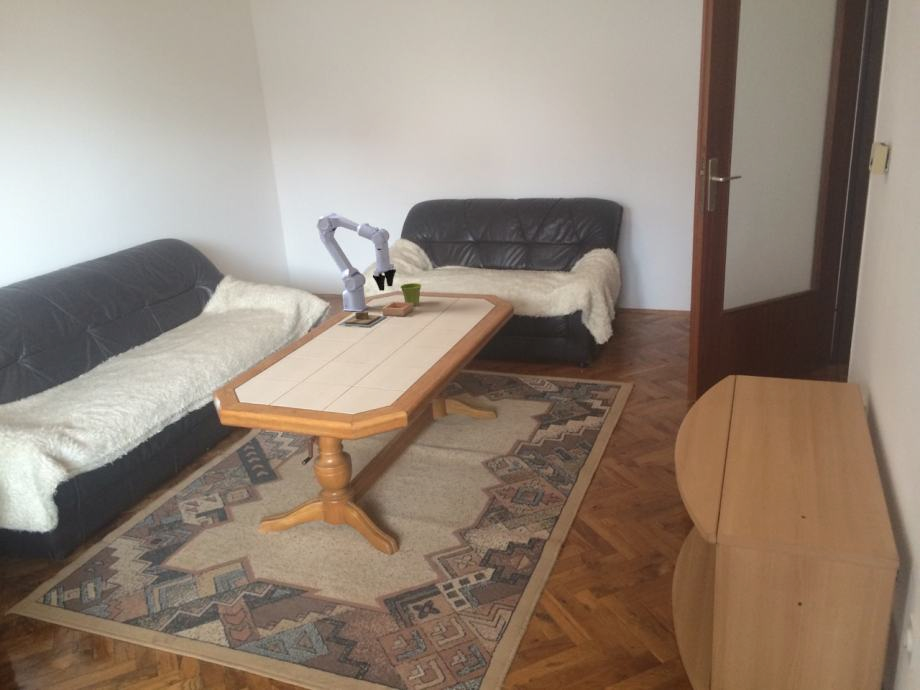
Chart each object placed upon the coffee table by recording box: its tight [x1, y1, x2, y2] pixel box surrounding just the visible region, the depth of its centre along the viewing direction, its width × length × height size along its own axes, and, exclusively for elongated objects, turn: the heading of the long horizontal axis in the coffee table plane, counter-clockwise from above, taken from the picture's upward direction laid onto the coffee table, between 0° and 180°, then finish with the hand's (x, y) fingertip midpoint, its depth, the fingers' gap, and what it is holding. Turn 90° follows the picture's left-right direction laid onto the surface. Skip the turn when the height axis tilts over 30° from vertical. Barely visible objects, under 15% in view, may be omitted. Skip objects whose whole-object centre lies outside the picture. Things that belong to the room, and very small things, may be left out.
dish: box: [382, 301, 415, 318], centre depth 326 cm, size 10×10×4 cm
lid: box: [344, 311, 381, 325], centre depth 318 cm, size 11×11×4 cm
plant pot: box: [400, 282, 422, 306], centre depth 337 cm, size 9×9×9 cm
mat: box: [338, 314, 388, 328], centre depth 318 cm, size 15×15×1 cm
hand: (385, 288), depth 330 cm, fingers open, 7 cm apart
